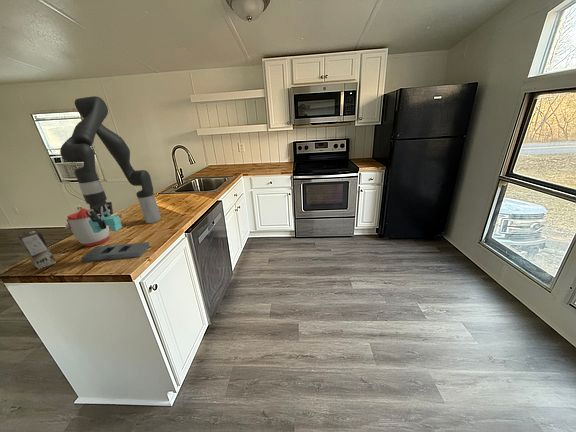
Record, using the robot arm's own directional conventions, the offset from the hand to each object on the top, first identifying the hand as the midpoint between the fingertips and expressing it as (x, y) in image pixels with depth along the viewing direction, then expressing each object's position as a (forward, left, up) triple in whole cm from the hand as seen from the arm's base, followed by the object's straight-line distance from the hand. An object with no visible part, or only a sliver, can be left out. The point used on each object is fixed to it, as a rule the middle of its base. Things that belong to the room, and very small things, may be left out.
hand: (107, 226), depth 108 cm
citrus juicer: (-16, -22, -15) cm, 31 cm away
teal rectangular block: (0, 0, -2) cm, 2 cm away
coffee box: (+3, -32, -15) cm, 35 cm away
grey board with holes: (0, 0, -15) cm, 15 cm away
